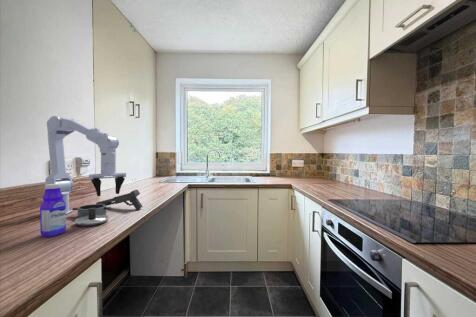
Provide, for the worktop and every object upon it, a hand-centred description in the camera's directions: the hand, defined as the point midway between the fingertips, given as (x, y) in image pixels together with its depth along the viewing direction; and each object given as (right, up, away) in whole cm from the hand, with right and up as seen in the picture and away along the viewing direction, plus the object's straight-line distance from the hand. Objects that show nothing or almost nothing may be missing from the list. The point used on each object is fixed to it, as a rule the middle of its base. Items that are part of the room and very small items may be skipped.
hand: (108, 194), depth 106 cm
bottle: (-7, -11, -22) cm, 25 cm away
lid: (-2, -10, -8) cm, 13 cm away
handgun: (-4, -10, +18) cm, 21 cm away
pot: (-9, -10, +3) cm, 14 cm away
